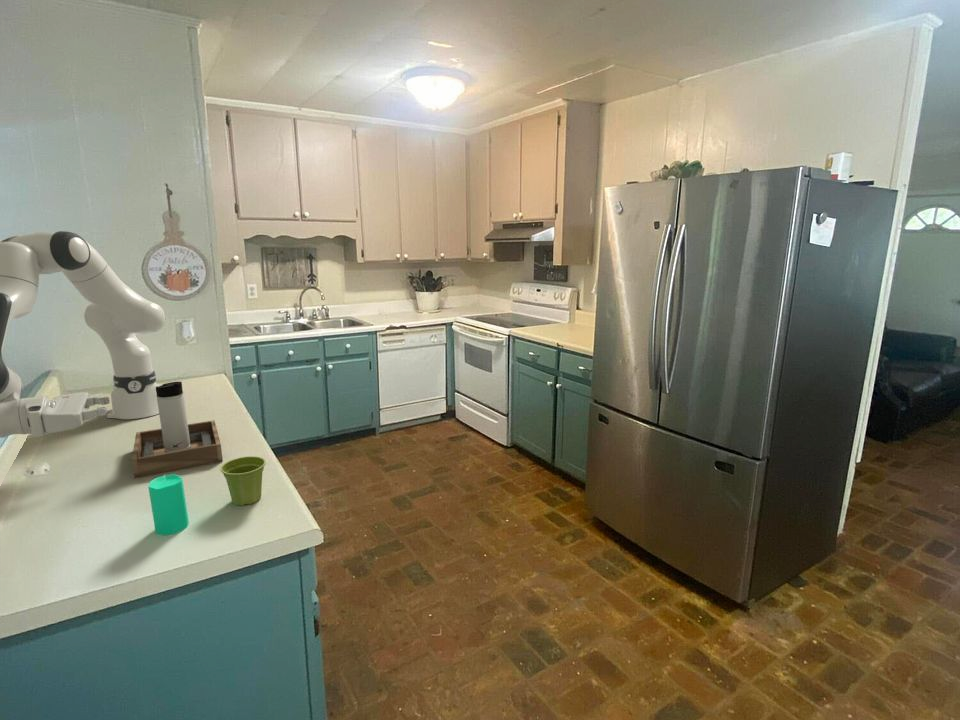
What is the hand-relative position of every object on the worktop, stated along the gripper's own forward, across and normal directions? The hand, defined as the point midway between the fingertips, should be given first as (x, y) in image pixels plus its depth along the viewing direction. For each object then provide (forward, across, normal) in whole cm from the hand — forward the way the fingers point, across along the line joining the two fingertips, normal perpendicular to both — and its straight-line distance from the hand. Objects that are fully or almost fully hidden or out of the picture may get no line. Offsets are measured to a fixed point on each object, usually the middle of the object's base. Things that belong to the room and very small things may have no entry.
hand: (107, 405), depth 135 cm
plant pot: (+27, +39, -16) cm, 50 cm away
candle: (+12, +44, -15) cm, 48 cm away
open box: (+14, +2, -16) cm, 22 cm away
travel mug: (+14, +2, -16) cm, 21 cm away
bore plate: (+14, +2, -16) cm, 22 cm away
